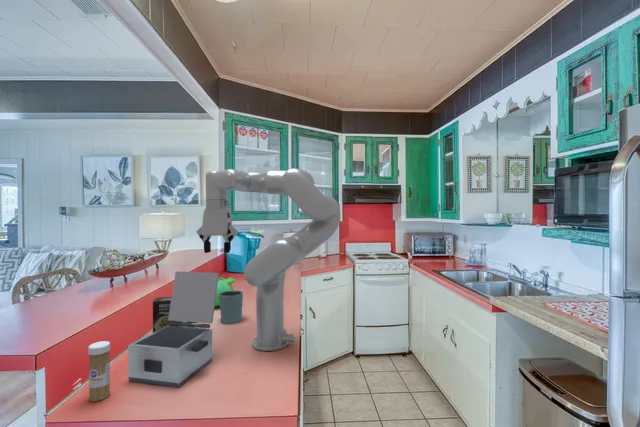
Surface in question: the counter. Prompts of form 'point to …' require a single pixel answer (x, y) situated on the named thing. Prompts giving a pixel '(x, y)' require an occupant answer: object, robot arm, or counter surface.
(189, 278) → the lid
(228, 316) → the grey cup
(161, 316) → the coffee box
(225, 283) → the green teapot
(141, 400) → the counter surface
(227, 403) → the counter surface
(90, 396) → the sprinkles bottle
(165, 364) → the cooker
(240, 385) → the counter surface
